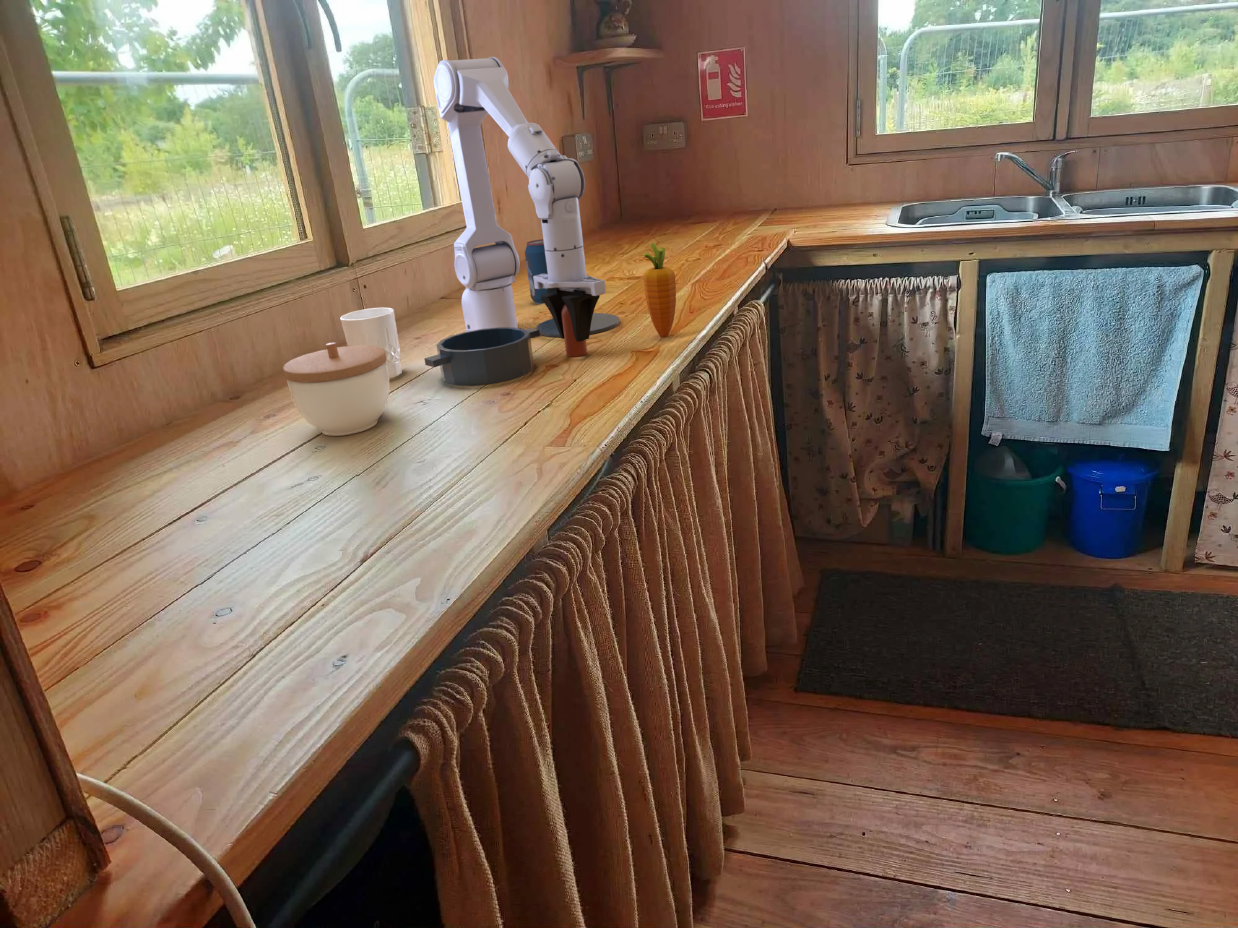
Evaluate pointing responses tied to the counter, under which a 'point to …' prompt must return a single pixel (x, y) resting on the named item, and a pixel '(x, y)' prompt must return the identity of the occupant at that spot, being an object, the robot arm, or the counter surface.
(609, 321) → the lid
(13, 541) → the counter surface
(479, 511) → the counter surface
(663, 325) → the carrot
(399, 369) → the white cup
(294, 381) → the lidded bowl
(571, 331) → the sausage
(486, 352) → the pot
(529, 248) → the soda can
